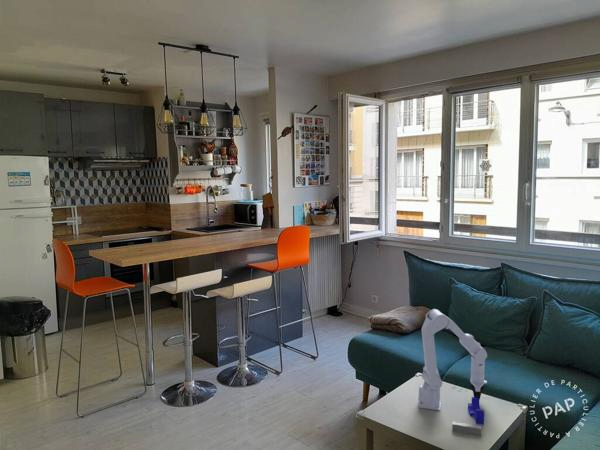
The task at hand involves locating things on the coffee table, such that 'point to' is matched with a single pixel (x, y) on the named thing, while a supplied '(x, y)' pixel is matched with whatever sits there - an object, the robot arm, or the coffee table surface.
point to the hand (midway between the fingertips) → (476, 399)
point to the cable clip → (476, 410)
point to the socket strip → (466, 428)
